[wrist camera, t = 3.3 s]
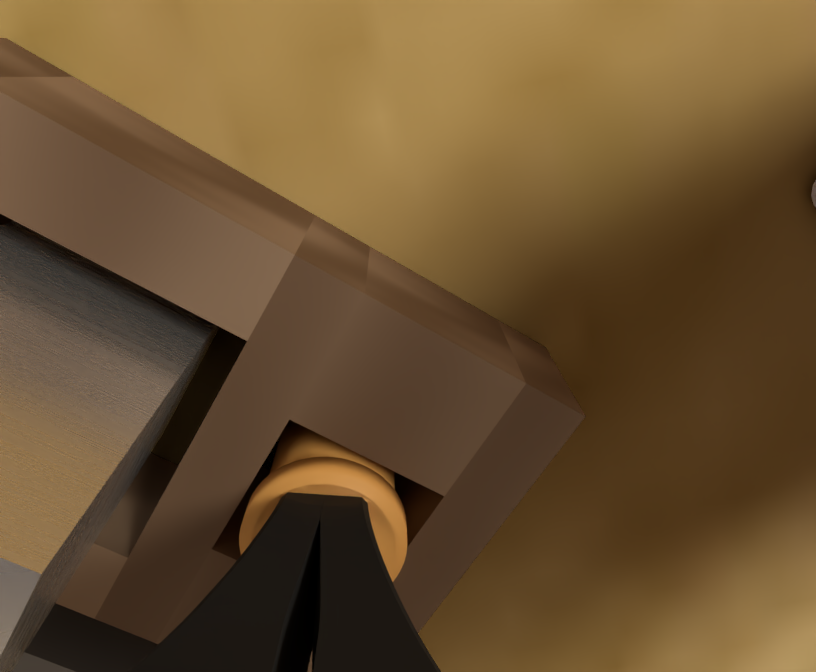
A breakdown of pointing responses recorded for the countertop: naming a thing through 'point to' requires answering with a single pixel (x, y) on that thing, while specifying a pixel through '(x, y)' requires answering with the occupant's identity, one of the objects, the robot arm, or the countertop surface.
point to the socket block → (273, 354)
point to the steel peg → (74, 412)
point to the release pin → (330, 488)
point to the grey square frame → (81, 645)
